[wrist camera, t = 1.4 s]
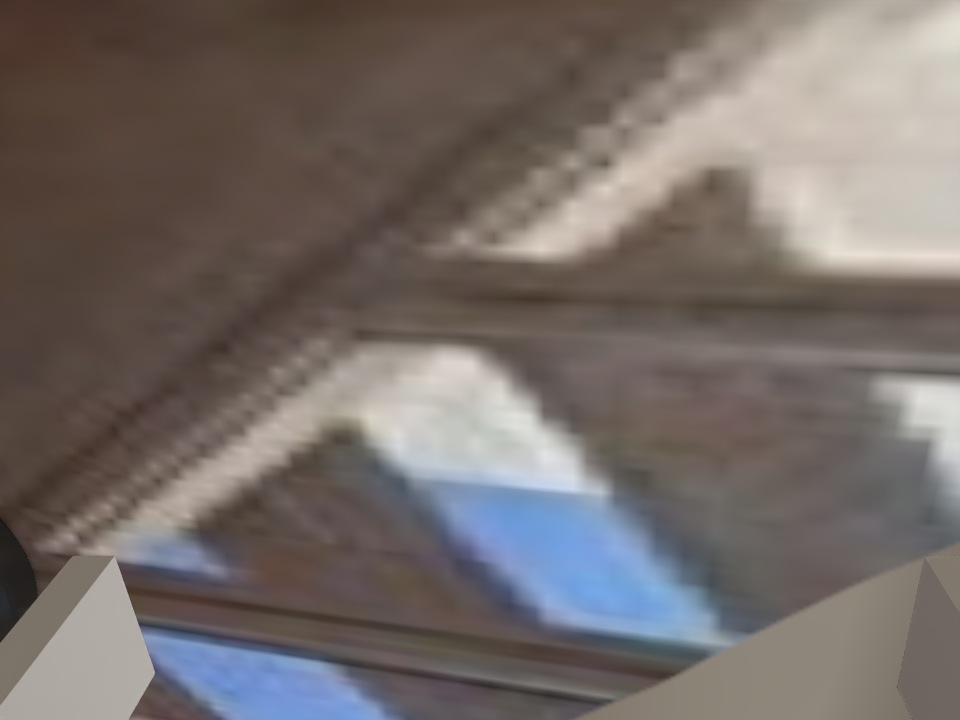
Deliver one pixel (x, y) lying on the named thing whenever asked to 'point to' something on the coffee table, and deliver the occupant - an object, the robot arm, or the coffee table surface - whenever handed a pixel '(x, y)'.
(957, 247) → the coffee table surface
